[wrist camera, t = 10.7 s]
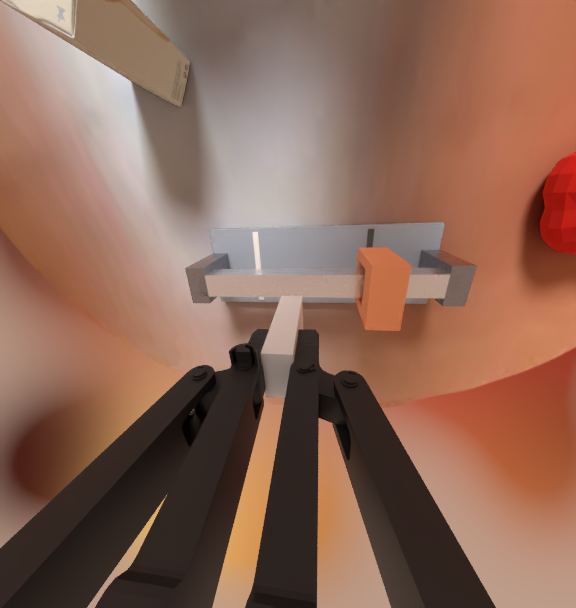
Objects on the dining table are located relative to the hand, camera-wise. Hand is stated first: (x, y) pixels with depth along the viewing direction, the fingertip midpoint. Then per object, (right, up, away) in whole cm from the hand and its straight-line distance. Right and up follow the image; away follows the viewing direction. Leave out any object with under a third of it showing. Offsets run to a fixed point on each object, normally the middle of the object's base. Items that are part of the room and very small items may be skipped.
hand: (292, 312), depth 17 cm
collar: (+9, +4, +10) cm, 14 cm away
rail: (+4, +5, +13) cm, 15 cm away
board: (+4, +6, +14) cm, 16 cm away
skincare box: (-14, +25, +8) cm, 30 cm away
